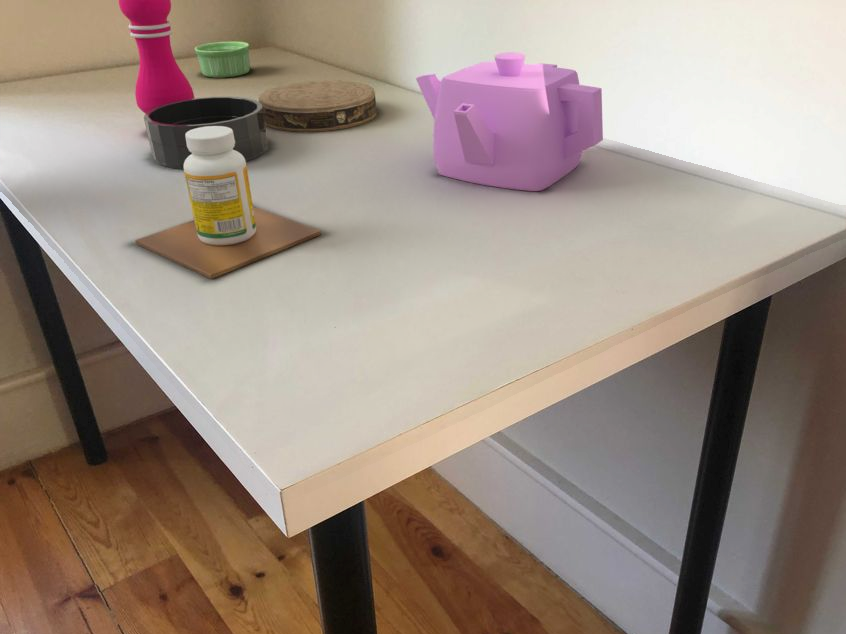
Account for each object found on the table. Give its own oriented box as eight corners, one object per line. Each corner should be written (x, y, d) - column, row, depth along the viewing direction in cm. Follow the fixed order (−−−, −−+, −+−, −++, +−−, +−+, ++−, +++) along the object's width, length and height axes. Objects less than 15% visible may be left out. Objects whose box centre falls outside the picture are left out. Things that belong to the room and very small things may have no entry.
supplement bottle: (232, 250, 70) (212, 143, 65) (185, 241, 72) (162, 137, 67) (269, 228, 74) (252, 126, 70) (223, 221, 76) (204, 121, 71)
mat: (211, 279, 66) (210, 275, 66) (136, 244, 73) (135, 240, 73) (321, 234, 74) (320, 230, 74) (244, 206, 81) (243, 202, 81)
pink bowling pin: (203, 135, 104) (170, -34, 93) (145, 142, 101) (105, -31, 91) (197, 121, 109) (166, -39, 99) (142, 128, 107) (104, -36, 97)
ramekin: (239, 65, 142) (234, 39, 139) (262, 72, 136) (258, 45, 133) (191, 73, 137) (185, 46, 135) (213, 81, 131) (208, 53, 129)
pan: (195, 177, 89) (185, 132, 87) (132, 155, 97) (121, 113, 94) (290, 148, 98) (285, 107, 95) (225, 129, 106) (219, 91, 103)
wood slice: (243, 114, 112) (239, 92, 111) (342, 96, 120) (339, 75, 119) (293, 139, 101) (290, 115, 100) (398, 117, 109) (397, 94, 108)
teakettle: (609, 184, 84) (618, 63, 78) (454, 203, 80) (450, 77, 74) (552, 140, 98) (556, 34, 92) (418, 154, 94) (412, 45, 88)
